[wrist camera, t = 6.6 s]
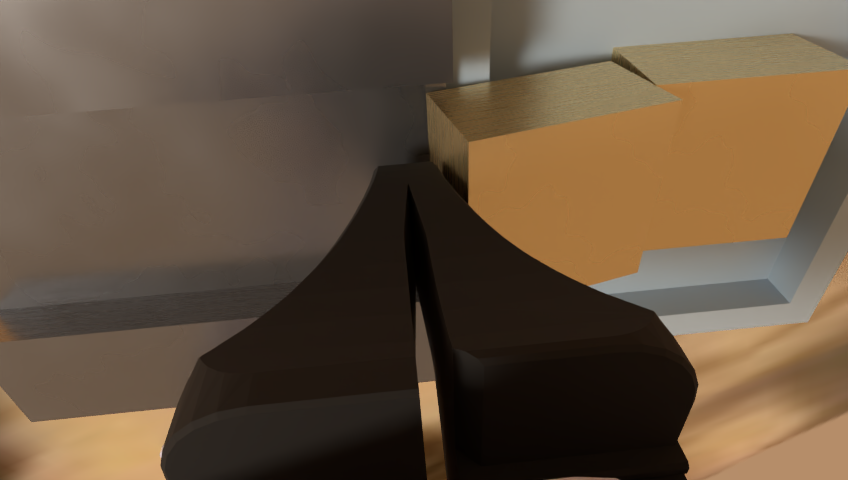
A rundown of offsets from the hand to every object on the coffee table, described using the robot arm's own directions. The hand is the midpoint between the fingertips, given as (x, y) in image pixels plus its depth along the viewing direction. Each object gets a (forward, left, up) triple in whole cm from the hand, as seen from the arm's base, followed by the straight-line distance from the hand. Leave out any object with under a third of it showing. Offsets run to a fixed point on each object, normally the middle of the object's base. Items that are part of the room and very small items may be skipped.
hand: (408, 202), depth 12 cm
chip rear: (0, -7, -2) cm, 8 cm away
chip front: (0, -3, -1) cm, 3 cm away
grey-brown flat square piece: (0, +5, -3) cm, 6 cm away
